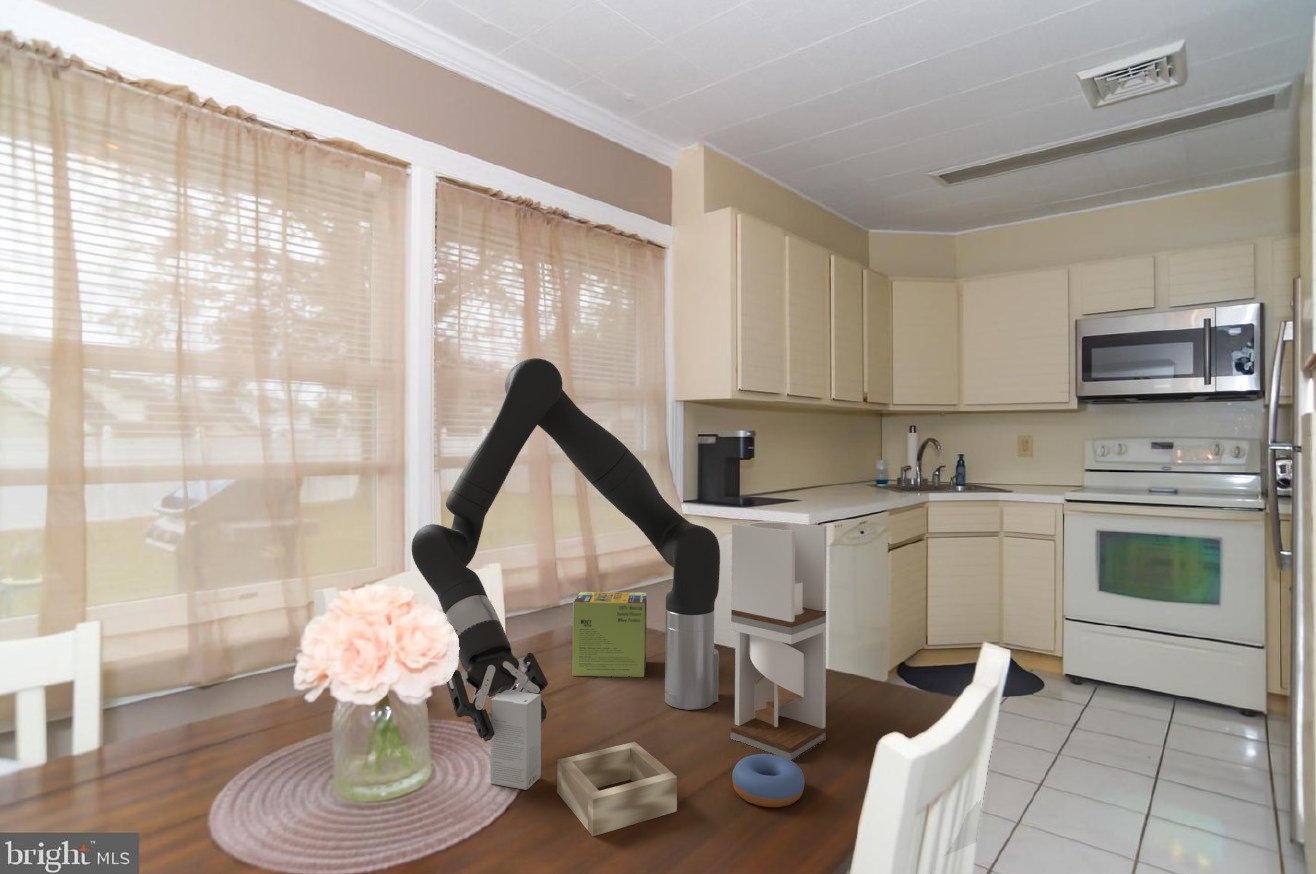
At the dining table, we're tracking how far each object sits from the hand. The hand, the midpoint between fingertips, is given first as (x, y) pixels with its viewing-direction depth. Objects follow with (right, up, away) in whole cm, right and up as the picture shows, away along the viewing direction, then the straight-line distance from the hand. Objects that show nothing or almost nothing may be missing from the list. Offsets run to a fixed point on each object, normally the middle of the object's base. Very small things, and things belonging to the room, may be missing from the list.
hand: (516, 729), depth 97 cm
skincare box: (0, -8, 0) cm, 8 cm away
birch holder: (+14, -7, -5) cm, 17 cm away
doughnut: (+35, -8, -2) cm, 36 cm away
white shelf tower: (+40, -8, +15) cm, 43 cm away
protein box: (+10, -8, +49) cm, 51 cm away
